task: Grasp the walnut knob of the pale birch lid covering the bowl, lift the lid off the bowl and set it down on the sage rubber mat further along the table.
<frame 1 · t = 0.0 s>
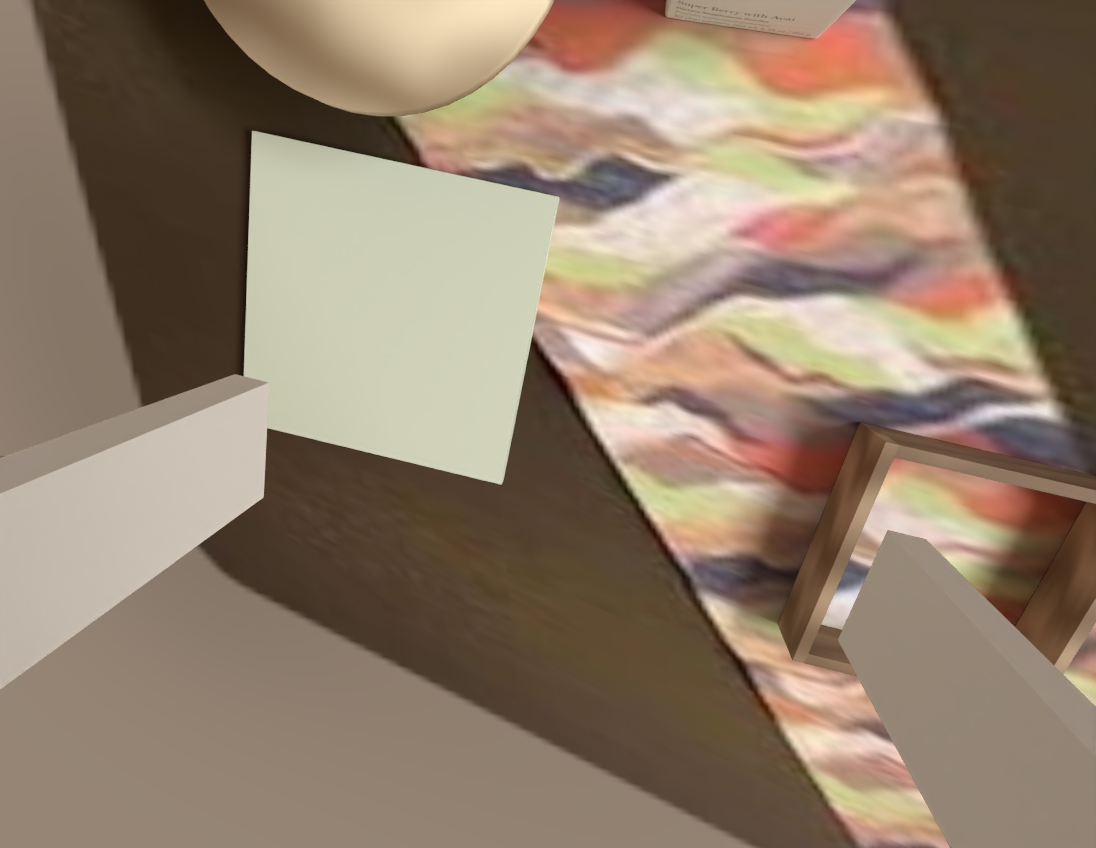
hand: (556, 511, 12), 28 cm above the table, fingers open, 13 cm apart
holder corral: (932, 557, 41), on the table
mat: (389, 318, 40), on the table
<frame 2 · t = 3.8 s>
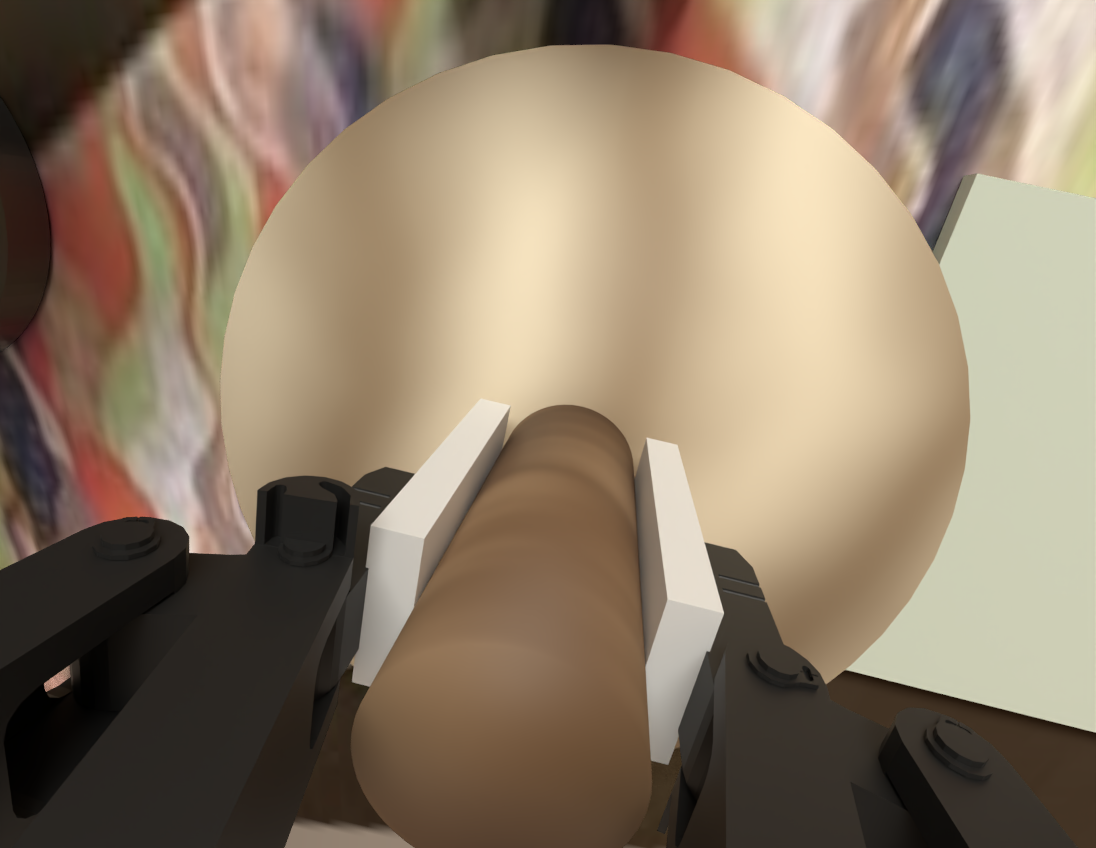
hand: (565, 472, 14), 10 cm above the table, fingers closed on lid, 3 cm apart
lid: (570, 451, 16), point 8 cm above the table, touching bowl, gripper
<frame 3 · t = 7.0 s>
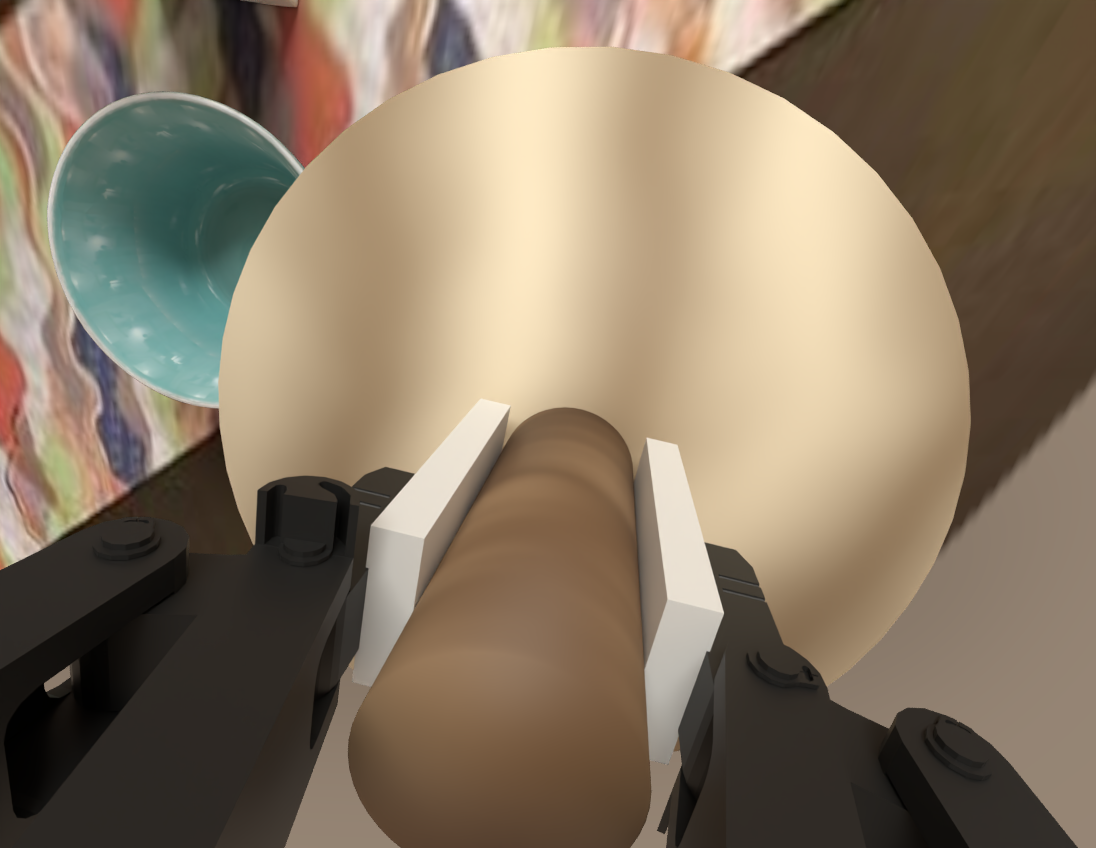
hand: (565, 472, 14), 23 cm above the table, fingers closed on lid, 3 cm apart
lid: (570, 454, 16), point 22 cm above the table, touching gripper
bowl: (281, 257, 38), on the table
when the fingers open (5 cm above the table, at t = 10.2 s): lid drops 2 cm, resting on mat.
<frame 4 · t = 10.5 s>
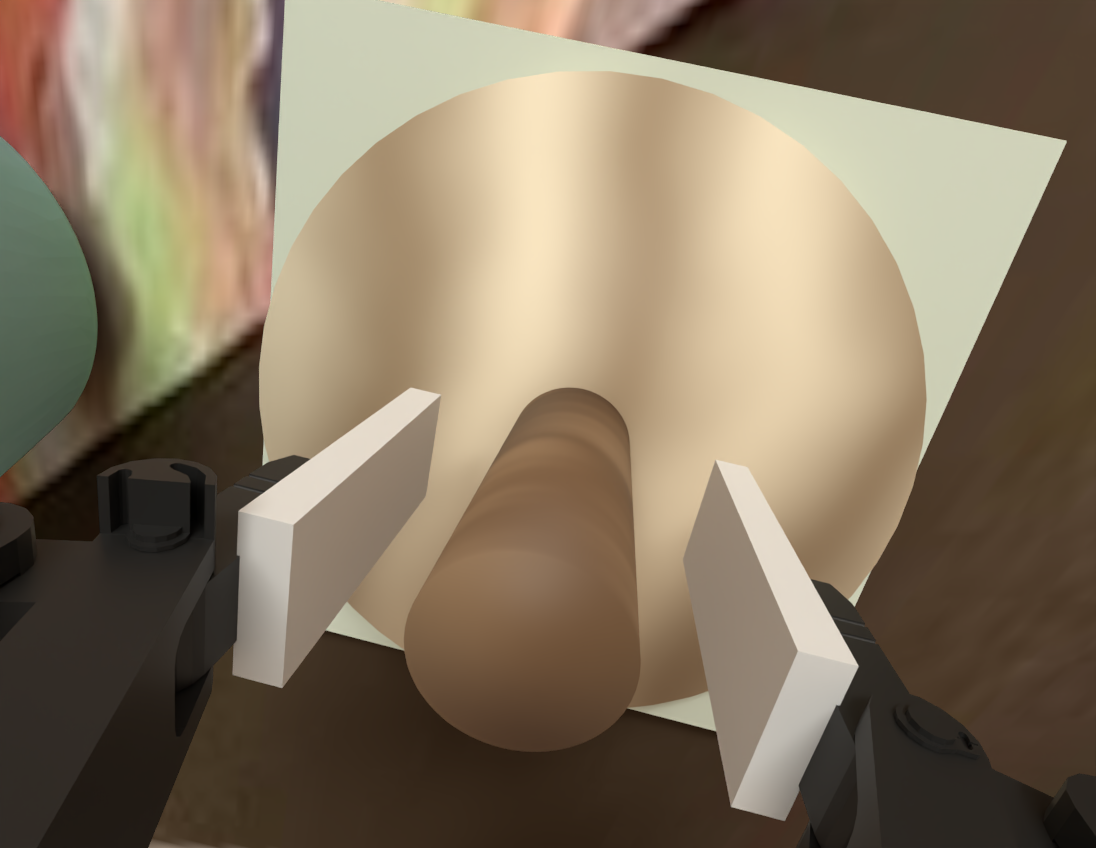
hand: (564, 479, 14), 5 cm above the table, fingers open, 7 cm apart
lid: (573, 431, 18), point 1 cm above the table, touching mat
mat: (578, 417, 19), on the table
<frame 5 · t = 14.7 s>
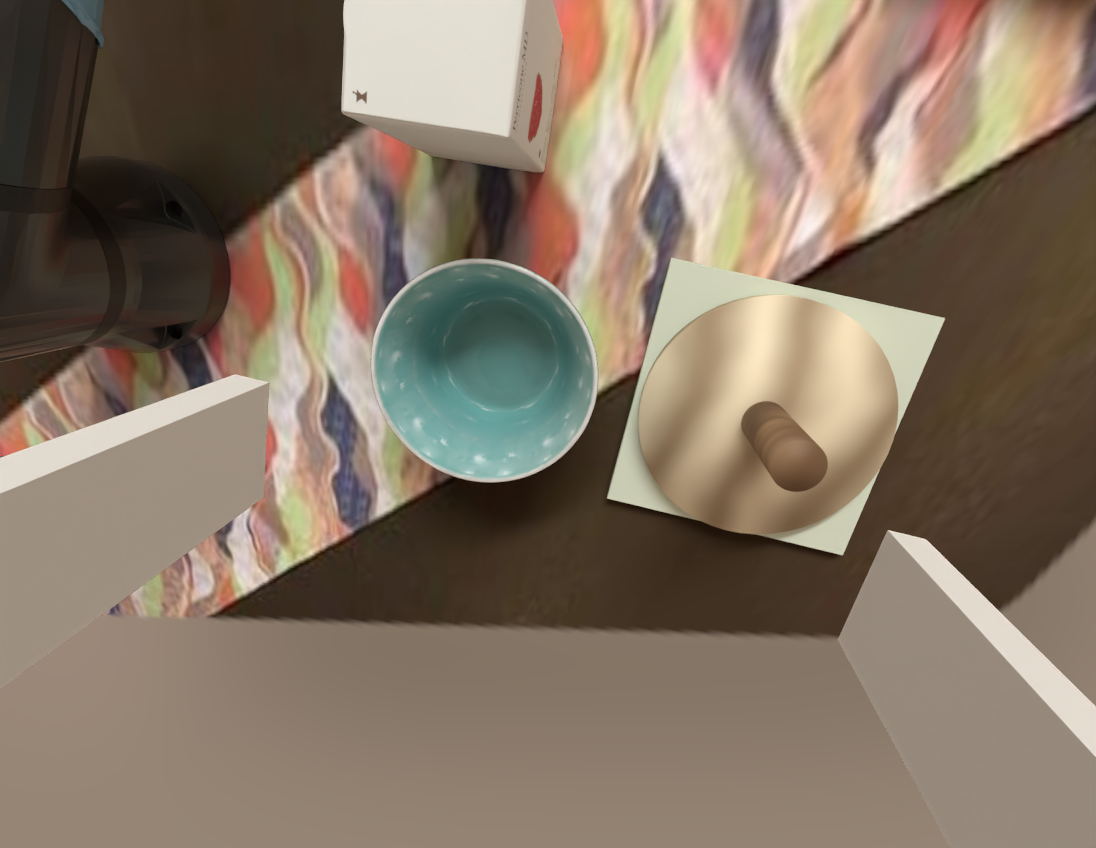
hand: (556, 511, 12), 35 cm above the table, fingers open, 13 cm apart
lid: (760, 418, 45), point 1 cm above the table, touching mat
mat: (759, 412, 46), on the table
bowl: (505, 354, 47), on the table
supplement box: (495, 99, 42), on the table
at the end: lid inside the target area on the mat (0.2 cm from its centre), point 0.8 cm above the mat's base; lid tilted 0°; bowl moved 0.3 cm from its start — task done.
